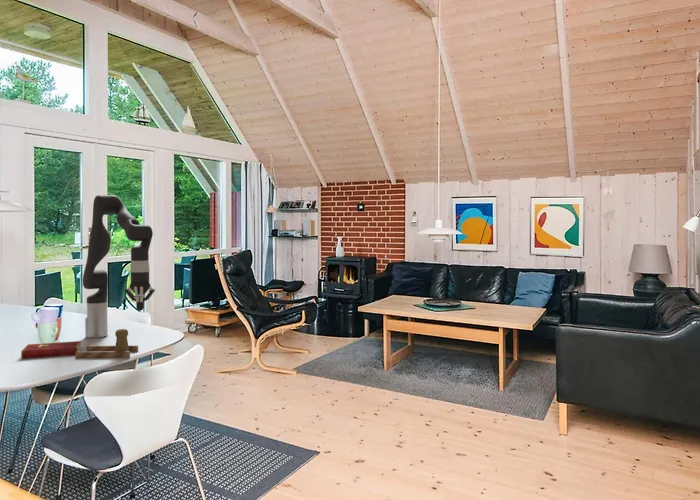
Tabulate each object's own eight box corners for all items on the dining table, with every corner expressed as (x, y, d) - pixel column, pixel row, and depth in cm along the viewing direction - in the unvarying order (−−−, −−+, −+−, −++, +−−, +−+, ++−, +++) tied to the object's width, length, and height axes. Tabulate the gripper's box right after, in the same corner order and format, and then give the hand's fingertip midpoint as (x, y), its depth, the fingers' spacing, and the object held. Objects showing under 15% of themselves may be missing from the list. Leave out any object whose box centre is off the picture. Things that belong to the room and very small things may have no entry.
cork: (117, 352, 224) (117, 328, 223) (131, 352, 224) (131, 327, 223) (112, 356, 218) (111, 330, 217) (126, 356, 218) (126, 330, 217)
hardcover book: (77, 356, 219) (77, 346, 219) (21, 360, 211) (21, 350, 211) (81, 349, 230) (81, 340, 230) (28, 353, 223) (27, 343, 222)
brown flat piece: (75, 358, 214) (75, 352, 214) (87, 351, 225) (87, 345, 225) (129, 357, 215) (129, 351, 215) (138, 350, 227) (138, 345, 227)
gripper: (120, 271, 215) (121, 311, 216) (152, 271, 216) (153, 311, 217) (127, 269, 223) (127, 308, 224) (158, 270, 224) (158, 308, 225)
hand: (140, 310), depth 220 cm, fingers closed
